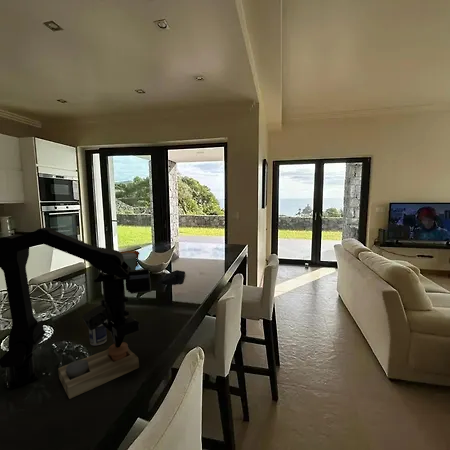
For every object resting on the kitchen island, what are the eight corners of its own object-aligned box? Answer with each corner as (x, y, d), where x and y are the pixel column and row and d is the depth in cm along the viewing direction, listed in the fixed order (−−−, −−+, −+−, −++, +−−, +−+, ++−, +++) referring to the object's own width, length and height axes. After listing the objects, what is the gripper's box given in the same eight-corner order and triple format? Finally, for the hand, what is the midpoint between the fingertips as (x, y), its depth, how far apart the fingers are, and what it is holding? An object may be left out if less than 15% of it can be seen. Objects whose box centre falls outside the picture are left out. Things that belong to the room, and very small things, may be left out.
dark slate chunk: (189, 274, 178) (188, 267, 177) (181, 285, 156) (181, 277, 156) (165, 275, 179) (165, 267, 178) (155, 286, 157) (154, 277, 157)
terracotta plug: (107, 361, 82) (105, 346, 82) (124, 354, 85) (123, 340, 85) (113, 369, 78) (112, 353, 78) (131, 361, 82) (130, 346, 81)
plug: (65, 381, 75) (63, 365, 74) (86, 372, 78) (84, 357, 78) (70, 391, 71) (68, 374, 70) (92, 381, 74) (90, 365, 74)
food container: (116, 266, 207) (115, 251, 206) (138, 263, 213) (137, 249, 212) (117, 270, 192) (116, 255, 191) (141, 267, 199) (140, 252, 198)
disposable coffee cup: (140, 274, 180) (139, 251, 179) (133, 279, 170) (132, 255, 168) (125, 274, 181) (123, 252, 180) (117, 279, 171) (115, 255, 169)
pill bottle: (109, 337, 98) (107, 311, 97) (103, 345, 93) (101, 317, 92) (94, 338, 98) (91, 311, 97) (87, 346, 93) (84, 318, 92)
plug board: (59, 378, 76) (58, 368, 76) (123, 352, 88) (123, 343, 88) (69, 399, 68) (68, 387, 68) (139, 367, 80) (138, 357, 80)
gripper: (74, 294, 81) (79, 345, 83) (95, 312, 67) (100, 373, 69) (113, 285, 89) (116, 332, 90) (138, 300, 75) (142, 355, 76)
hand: (118, 346), depth 81 cm, fingers closed, pressing on terracotta plug
